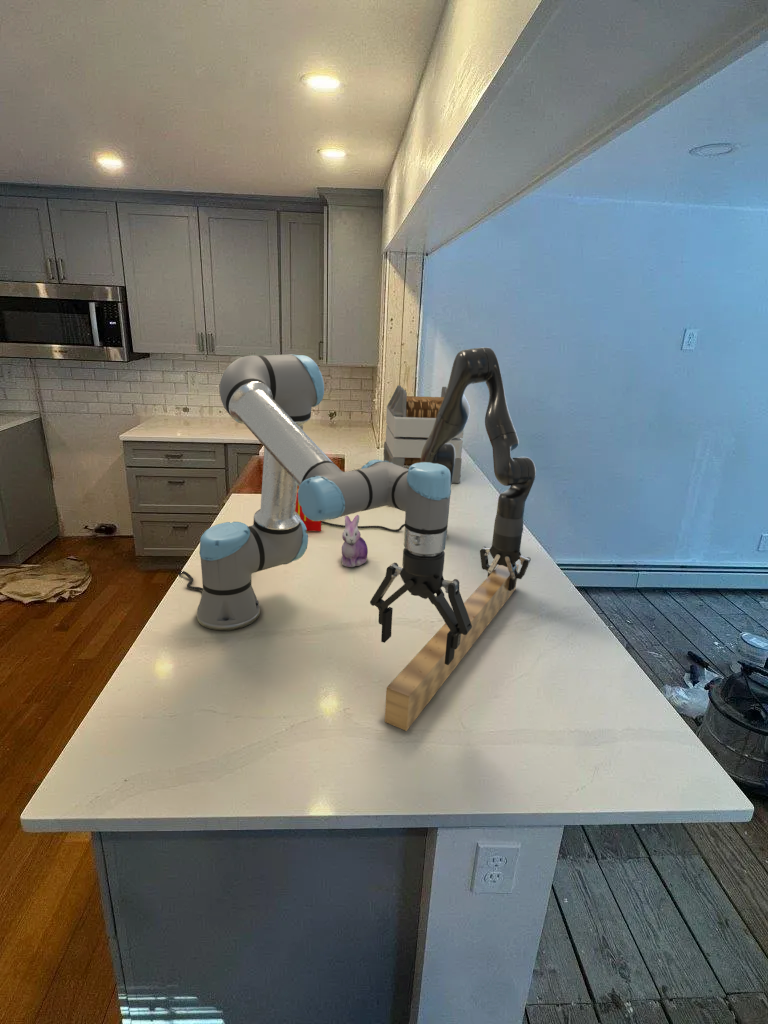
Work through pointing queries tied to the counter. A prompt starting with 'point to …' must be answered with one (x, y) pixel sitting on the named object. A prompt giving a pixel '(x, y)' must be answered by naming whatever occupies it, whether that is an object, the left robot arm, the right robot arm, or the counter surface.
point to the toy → (308, 523)
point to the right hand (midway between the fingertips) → (500, 586)
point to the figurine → (353, 544)
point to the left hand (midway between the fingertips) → (416, 649)
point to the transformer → (414, 429)
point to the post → (443, 653)
